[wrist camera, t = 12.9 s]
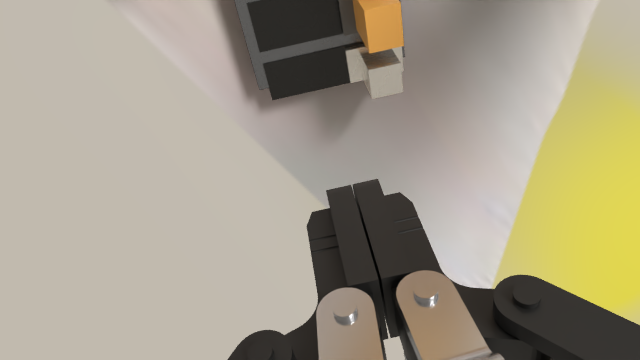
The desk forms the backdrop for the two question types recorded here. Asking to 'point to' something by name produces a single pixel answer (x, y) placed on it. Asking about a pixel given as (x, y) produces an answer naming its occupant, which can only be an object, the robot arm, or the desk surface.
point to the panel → (312, 49)
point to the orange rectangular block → (373, 22)
